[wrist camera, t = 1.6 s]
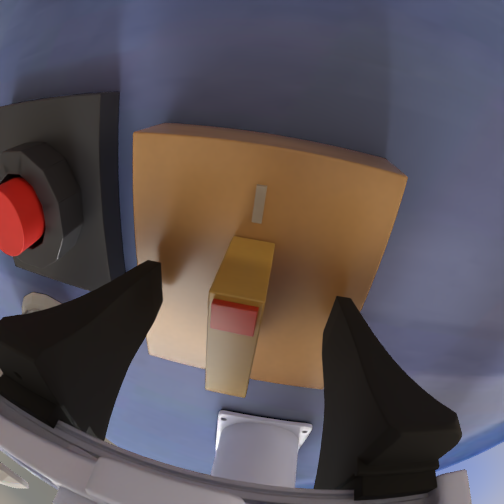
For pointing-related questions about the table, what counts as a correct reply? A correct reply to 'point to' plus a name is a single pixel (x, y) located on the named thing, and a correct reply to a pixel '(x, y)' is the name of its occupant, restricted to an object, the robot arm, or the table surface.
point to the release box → (68, 183)
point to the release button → (19, 216)
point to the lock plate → (259, 234)
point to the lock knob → (236, 314)
